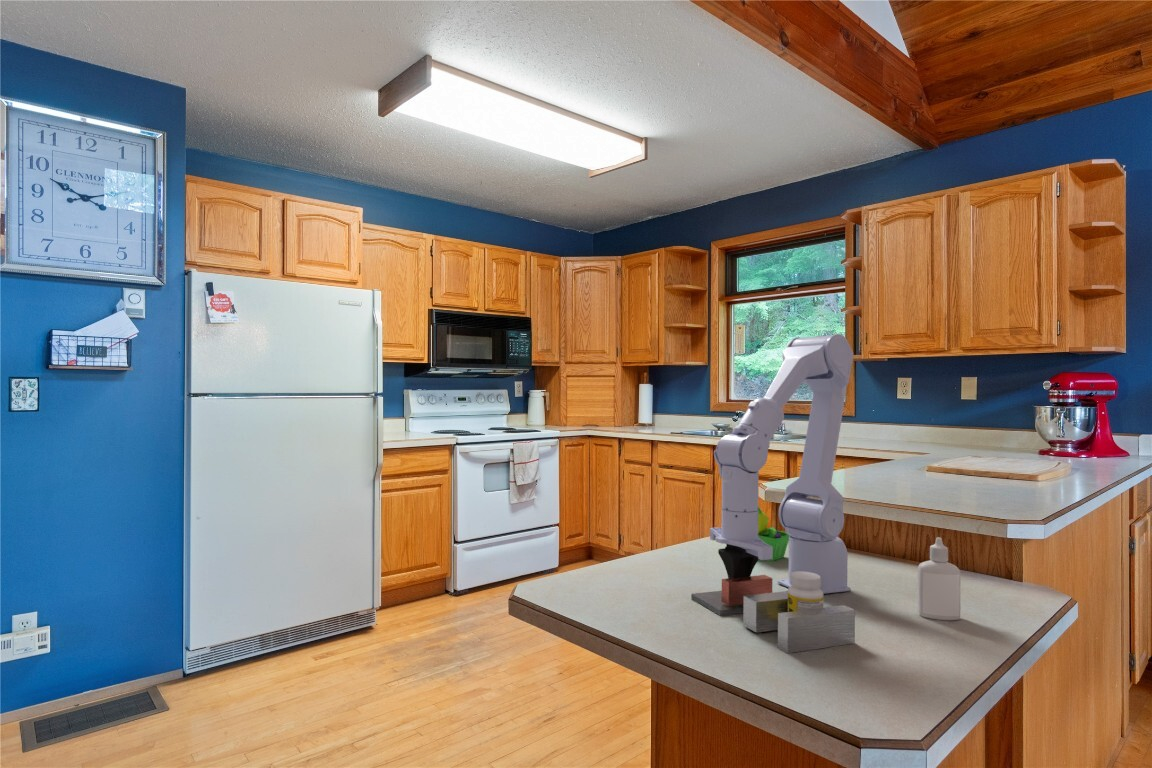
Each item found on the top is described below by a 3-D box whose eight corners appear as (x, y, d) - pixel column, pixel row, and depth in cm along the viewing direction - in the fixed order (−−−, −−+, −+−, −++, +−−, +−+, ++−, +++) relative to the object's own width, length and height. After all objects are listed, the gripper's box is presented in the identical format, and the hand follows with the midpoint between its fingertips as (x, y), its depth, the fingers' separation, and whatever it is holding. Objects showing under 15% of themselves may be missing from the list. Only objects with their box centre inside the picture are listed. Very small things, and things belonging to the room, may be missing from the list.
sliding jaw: (772, 600, 104) (772, 574, 104) (819, 624, 94) (820, 594, 94) (713, 607, 100) (713, 579, 100) (756, 632, 90) (756, 601, 90)
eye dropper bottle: (955, 624, 95) (956, 543, 95) (914, 615, 99) (914, 537, 99) (963, 617, 98) (963, 538, 98) (922, 609, 102) (922, 532, 102)
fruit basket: (792, 557, 134) (793, 503, 134) (772, 565, 128) (773, 507, 128) (743, 547, 142) (743, 496, 142) (722, 554, 135) (722, 500, 136)
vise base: (753, 591, 109) (753, 587, 109) (785, 607, 101) (785, 602, 101) (691, 598, 105) (691, 593, 105) (720, 615, 97) (720, 610, 97)
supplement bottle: (787, 627, 93) (788, 568, 93) (822, 631, 91) (823, 572, 91) (786, 639, 88) (787, 577, 88) (823, 644, 87) (824, 581, 87)
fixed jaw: (843, 637, 89) (844, 605, 89) (854, 643, 87) (854, 609, 87) (777, 647, 85) (778, 613, 85) (787, 653, 83) (787, 618, 84)
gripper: (694, 502, 109) (693, 583, 109) (745, 519, 95) (744, 611, 95) (730, 501, 111) (729, 580, 111) (784, 516, 98) (783, 606, 97)
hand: (738, 594), depth 103 cm, fingers closed, pressing on sliding jaw
